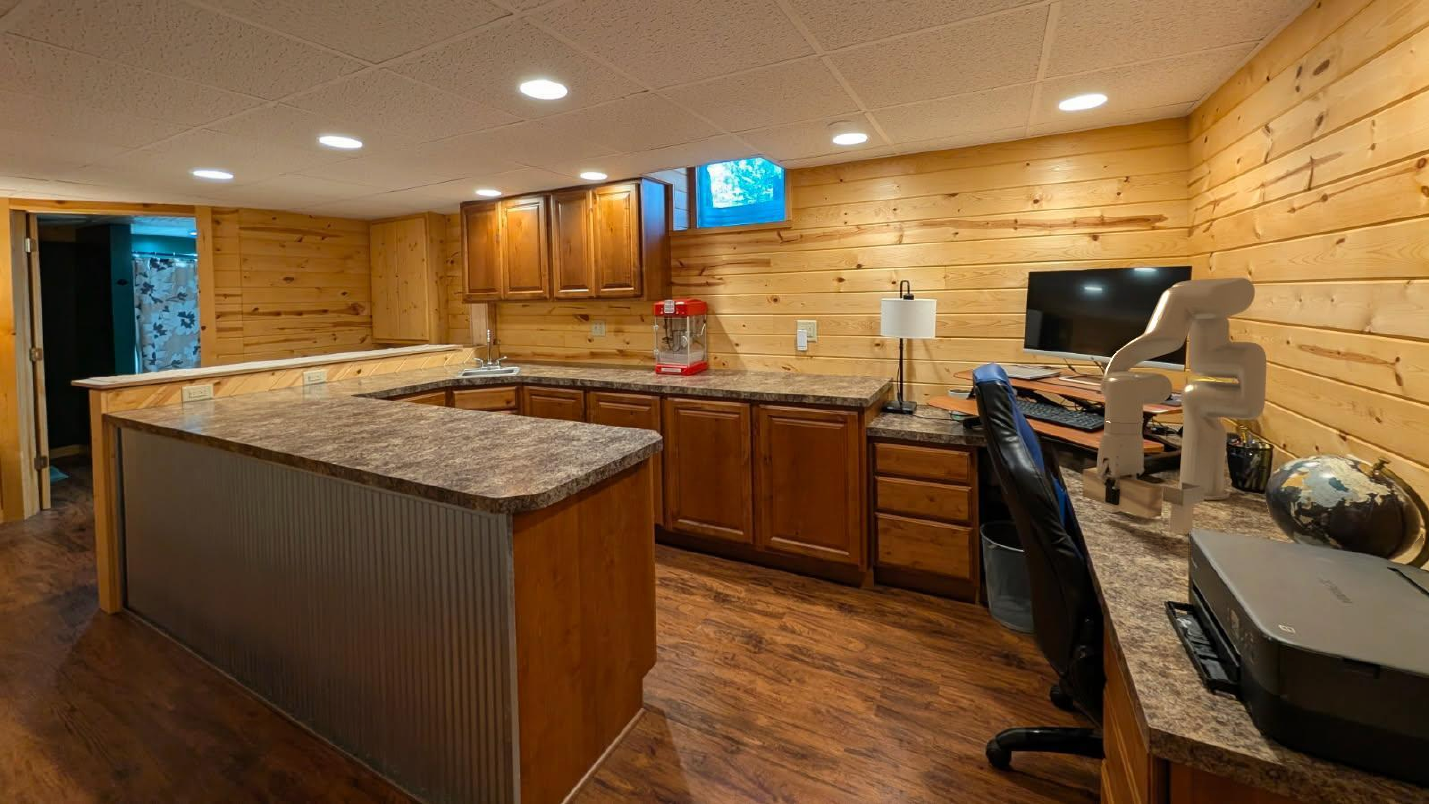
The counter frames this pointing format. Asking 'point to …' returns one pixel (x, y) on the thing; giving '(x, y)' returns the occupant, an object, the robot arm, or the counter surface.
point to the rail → (1126, 494)
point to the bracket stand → (1177, 505)
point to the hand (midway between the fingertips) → (1119, 501)
